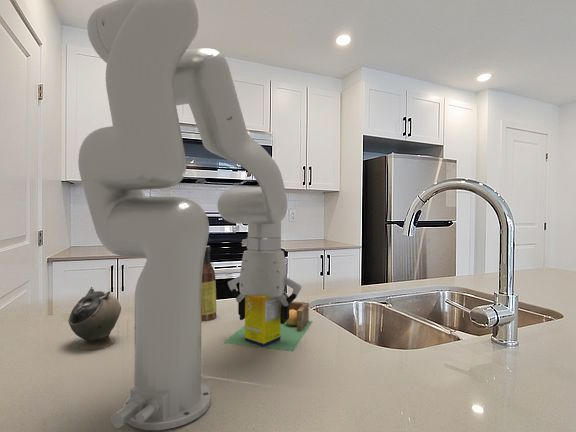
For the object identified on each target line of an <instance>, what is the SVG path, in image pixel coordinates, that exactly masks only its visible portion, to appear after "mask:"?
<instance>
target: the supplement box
mask: <svg viewBox="0 0 576 432" xmlns="http://www.w3.org/2000/svg"><path fill="white" fill-rule="evenodd" d="M280 314H281V301H280V300H279V299H278V298H269V297H267V296H261V295H253V296H245V319H244V325H245V341H246V342H250V343H252V344H255V345H258V346H262V347H265V346H267V345H269V344H271V343H273V342H276V341H278V340H280V332H281V323H280ZM262 347H261V348H262Z"/></svg>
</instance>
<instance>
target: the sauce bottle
mask: <svg viewBox="0 0 576 432" xmlns="http://www.w3.org/2000/svg"><path fill="white" fill-rule="evenodd" d="M215 273H216V272H215V270H214V268H213V266H212V263H211V245H207V246H206V250H205V255H204V261H203V270H202V294H201V302H202V308H201V322H206V321H212V320H215V319H216V317H217V288H216V287H217V286H216V274H215Z"/></svg>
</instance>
